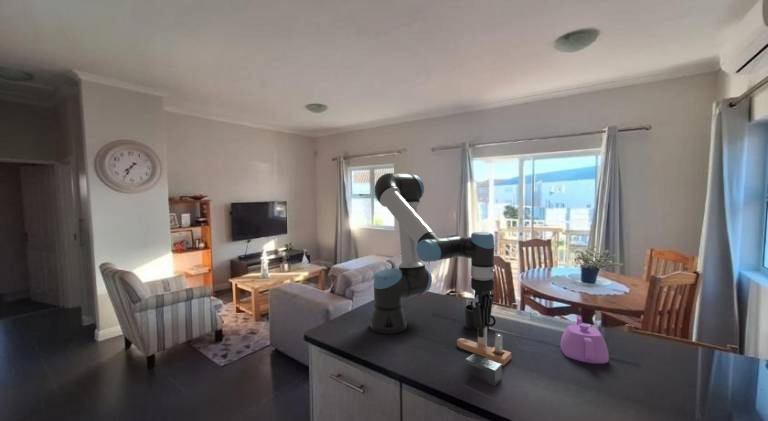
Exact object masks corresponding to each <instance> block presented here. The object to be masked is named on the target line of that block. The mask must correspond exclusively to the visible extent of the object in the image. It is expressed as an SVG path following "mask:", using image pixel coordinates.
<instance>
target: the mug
mask: <svg viewBox="0 0 768 421" xmlns="http://www.w3.org/2000/svg"><path fill="white" fill-rule="evenodd" d="M491 319H492V320H493V322H492V323H488V324H490V327H494V326H495V325H496V322H497V320H496V318H495V317H494V316H493V315H492V314H491ZM464 326H465V328H466V329H467V330H469V331H472V332H477V333H478V327H475V326H474V320H473V312H472V306H471V304H467V305H465V307H464ZM490 327H488V326H487V331H488V330H490Z"/></svg>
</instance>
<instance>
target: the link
mask: <svg viewBox="0 0 768 421" xmlns="http://www.w3.org/2000/svg"><path fill="white" fill-rule="evenodd" d="M456 343H457V344H456V346H457V347H458V348H459V349H461V350H465V351H468V352H470V353H472V354H475V355H478V356H481V357H483V358H486V359H489V360H492V361H494V362H497V363H500V364H502V367H504V366H505V365H506V364H508V363H509V361H510V360H512V352H511V351H508V350H506V349H505V350H504V349H502V356H499V355H496V354H495V346H493V347H491V346H488V345H487V346H485V345H482V344H479V343H478V342H476V341H473V340H471V339H467V338H464V337H463V338H461V337H459V338H457V340H456Z"/></svg>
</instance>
